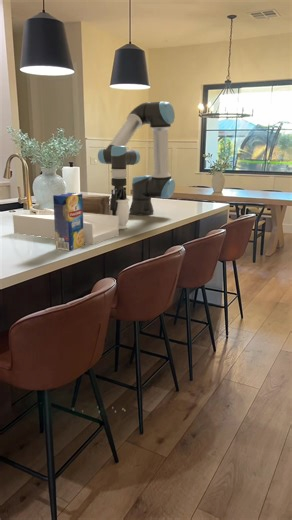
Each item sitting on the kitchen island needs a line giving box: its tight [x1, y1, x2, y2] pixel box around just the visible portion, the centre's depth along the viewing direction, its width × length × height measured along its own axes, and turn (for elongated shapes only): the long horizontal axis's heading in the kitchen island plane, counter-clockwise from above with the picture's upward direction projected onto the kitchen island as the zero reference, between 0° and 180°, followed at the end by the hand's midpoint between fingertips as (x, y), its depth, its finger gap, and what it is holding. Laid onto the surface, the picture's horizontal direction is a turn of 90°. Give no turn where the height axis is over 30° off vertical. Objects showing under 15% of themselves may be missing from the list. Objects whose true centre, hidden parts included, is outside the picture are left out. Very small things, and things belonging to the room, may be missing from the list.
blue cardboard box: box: [52, 192, 85, 252], centre depth 169 cm, size 7×11×22 cm, turn 157°
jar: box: [109, 197, 130, 230], centre depth 210 cm, size 11×10×15 cm
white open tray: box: [12, 208, 120, 245], centre depth 195 cm, size 45×22×10 cm, turn 64°
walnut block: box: [82, 194, 111, 215], centre depth 213 cm, size 14×14×15 cm
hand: (119, 221), depth 211 cm, fingers closed on jar, 10 cm apart
